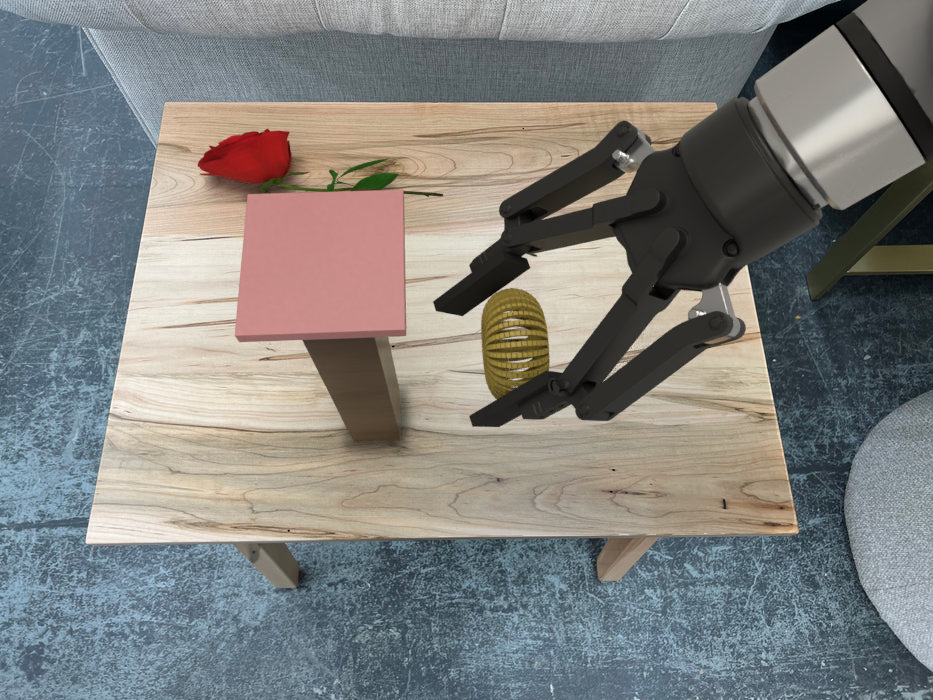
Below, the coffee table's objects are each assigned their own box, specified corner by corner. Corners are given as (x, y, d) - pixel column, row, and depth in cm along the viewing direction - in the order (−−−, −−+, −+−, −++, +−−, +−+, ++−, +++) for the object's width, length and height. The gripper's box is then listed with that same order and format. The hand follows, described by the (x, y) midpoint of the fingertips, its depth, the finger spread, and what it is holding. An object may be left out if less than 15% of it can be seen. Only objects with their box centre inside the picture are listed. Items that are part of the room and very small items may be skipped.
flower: (442, 135, 73) (180, 111, 77) (432, 224, 74) (173, 196, 78) (455, 153, 82) (220, 131, 86) (446, 232, 83) (213, 207, 87)
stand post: (401, 439, 72) (365, 301, 42) (353, 441, 72) (283, 303, 42) (400, 394, 74) (366, 232, 44) (354, 396, 73) (287, 234, 44)
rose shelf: (406, 336, 41) (405, 329, 40) (239, 342, 41) (234, 335, 40) (404, 198, 45) (403, 189, 44) (251, 202, 45) (247, 193, 44)
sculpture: (543, 419, 48) (560, 379, 41) (487, 424, 48) (493, 384, 41) (530, 317, 51) (543, 263, 44) (476, 321, 51) (480, 267, 44)
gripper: (914, 347, 32) (548, 507, 45) (726, 35, 40) (459, 248, 53) (880, 328, 27) (473, 517, 39) (669, -30, 34) (386, 225, 47)
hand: (465, 363), depth 46 cm, fingers closed on sculpture, 8 cm apart
